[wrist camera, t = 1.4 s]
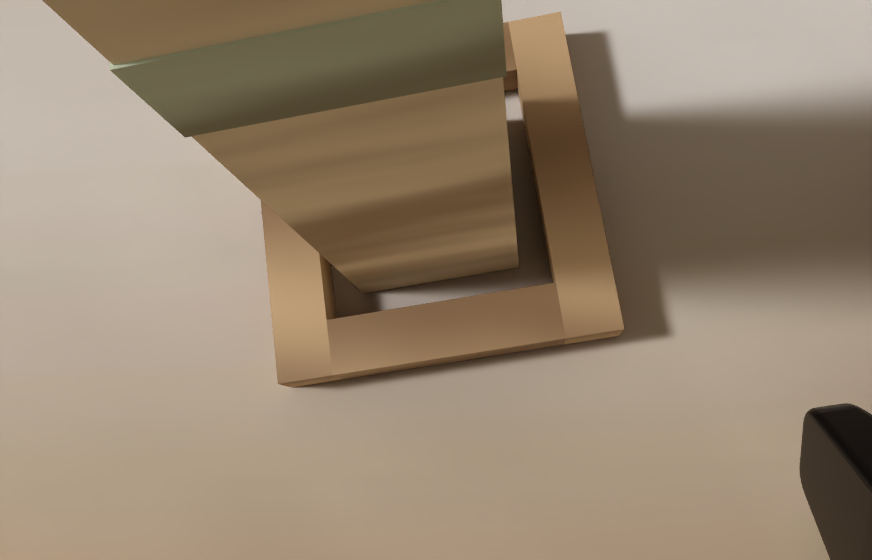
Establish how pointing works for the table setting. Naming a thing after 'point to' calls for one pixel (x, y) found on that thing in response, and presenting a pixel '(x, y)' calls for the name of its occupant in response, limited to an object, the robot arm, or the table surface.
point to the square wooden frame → (481, 314)
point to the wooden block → (338, 118)
